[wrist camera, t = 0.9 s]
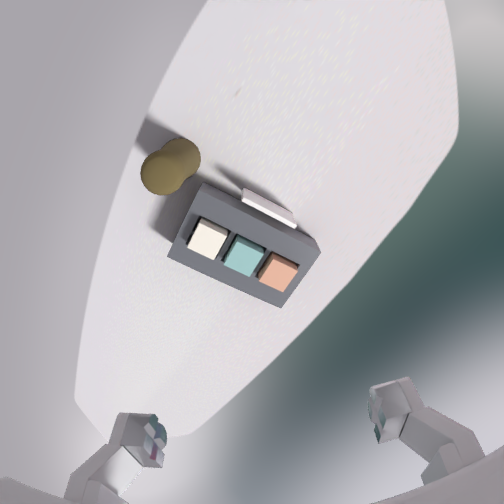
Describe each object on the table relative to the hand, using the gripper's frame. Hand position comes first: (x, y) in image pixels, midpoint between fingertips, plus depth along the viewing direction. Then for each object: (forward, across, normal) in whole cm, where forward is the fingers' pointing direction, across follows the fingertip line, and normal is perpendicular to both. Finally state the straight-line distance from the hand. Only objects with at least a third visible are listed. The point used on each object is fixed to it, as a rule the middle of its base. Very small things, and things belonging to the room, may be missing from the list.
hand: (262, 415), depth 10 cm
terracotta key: (+34, -2, +12) cm, 36 cm away
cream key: (+34, +6, +5) cm, 35 cm away
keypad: (+37, +2, +8) cm, 38 cm away
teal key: (+34, +2, +9) cm, 35 cm away
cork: (+37, +9, -6) cm, 38 cm away
